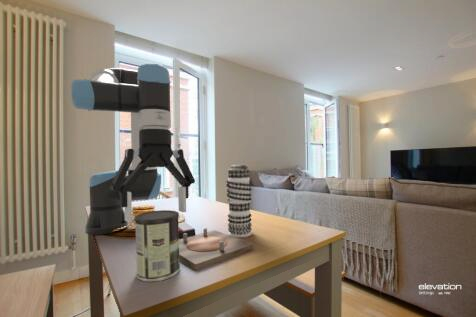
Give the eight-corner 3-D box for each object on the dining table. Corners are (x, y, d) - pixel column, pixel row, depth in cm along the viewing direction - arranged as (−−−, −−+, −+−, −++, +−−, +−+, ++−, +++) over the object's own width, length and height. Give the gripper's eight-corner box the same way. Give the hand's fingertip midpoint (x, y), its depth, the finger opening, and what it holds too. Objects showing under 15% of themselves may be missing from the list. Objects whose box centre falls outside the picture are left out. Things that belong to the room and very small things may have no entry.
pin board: (161, 248, 75) (161, 235, 75) (214, 234, 88) (214, 223, 88) (195, 270, 60) (195, 254, 60) (253, 248, 73) (253, 235, 73)
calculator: (144, 228, 85) (185, 220, 93) (145, 240, 85) (186, 231, 93) (149, 237, 76) (195, 227, 83) (150, 250, 76) (196, 239, 83)
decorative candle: (222, 233, 89) (220, 165, 89) (241, 228, 94) (240, 164, 94) (237, 239, 82) (236, 165, 81) (257, 233, 87) (256, 164, 87)
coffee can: (166, 259, 67) (165, 208, 67) (188, 270, 60) (186, 213, 60) (128, 272, 60) (127, 215, 60) (147, 287, 52) (146, 222, 52)
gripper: (102, 123, 48) (104, 229, 48) (206, 130, 65) (208, 210, 65) (94, 127, 54) (96, 222, 54) (191, 133, 71) (193, 206, 70)
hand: (157, 216), depth 59 cm, fingers open, 13 cm apart
